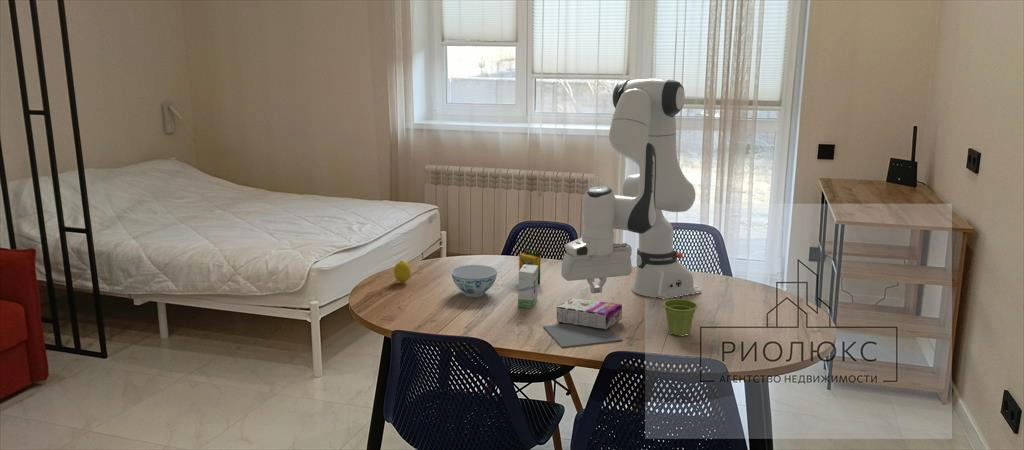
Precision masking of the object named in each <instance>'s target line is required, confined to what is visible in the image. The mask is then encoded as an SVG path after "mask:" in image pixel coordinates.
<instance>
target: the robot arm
mask: <svg viewBox="0 0 1024 450" xmlns="http://www.w3.org/2000/svg"><path fill="white" fill-rule="evenodd" d="M685 95H686V94H685V89H684V86H683V85H682V84H681V82H679V81H677V80H674V79H667V80H665V79H661V78H660V79H659V78H647V79H646V78H643V79H642V78H641V79H632V80H631V79H625V80H622V81H621V80H620V81H619V82H618V83H617V84H616V85H615V87H614V89H613V91H612V104H613V107H614V108H615V109H614V112H613V114H612V119H611V123H610V128H609V133H608V140H609V143H610V145H611V147H612V148H613V149H614V150H615V151H616V153H618V154H619V155H621V156H623V157H624V158H627V159H628V160H630V161H632V162H634V163H636V165H638V167H639V168H638V169H639V171H638V173H631V174H629V175H628V176H627V177H626V178H625V179H624V182H623V184H622V194H623V195H619V194H614V191H613V189H612V188H610V187H607V186H604V185H598V186H593V187H590V188H588V189H587V190H586V191H585V193H584V199H583V203H582V206H583V207H582V217H581V218H582V219H581V220H582V224H583V229H582V233H581V236H580V237H579V238H576V239H574V240H572V241H570V242H567V243H566V244H565V246H564V249H565V251H566V252H565V254H564V255H563V257H562V260H561V261H562V262H561V269H560V270H561V277H562V278H563V279H564V280H565V281H567V282H571V281H582V280H586V281H587V283H588V285H589V286H590V289H589V290H590V293H591V294H600V293H603V287H604V286H605V284H606V283H607V278H616V277H627V276H630V274H631V273H632V271H633V268H632V259H631V258H632V246H631V245H630V244H628V243H627V242H622V243H614V241H615V234H614V230H621V231H627V232H628V231H629V232H631V233H636V234H638V247H637V250H636V271H635V276H634V281H633V285H632V287H631V290H632V292H634V293H635V294H637V295H640V296H644V297H648V296H651V297H650V298H656V297H659V298H658V299H660V298H664V299H663V300H669V299H668V298H671V299H673V298H672V297H675V296H680V295H685V294H692V293H696V292H700V293H701V288H700V286H698V285H697V284H696V283H694V277H693V273H692V271H691V270H689V269H688V268H687V267H685V266H684V264H682V263H681V262H679V261H678V259H679V260H681V259H683V257H684V254H683V253H682V252H680V251H676V250H675V249H673V248H674V247H673V245H674V227H673V225H672V224H671V222H669V220H667V218H665V216H664V214H663V211H665V212H670V213H682V212H683V213H684V212H687V211H689V210H690V209H691V208H692V207H693V205H694V204H695V201H696V190H695V187H694V185H693V183H691V182H690V181H689V180H688V179H687V177H686V176H685V174H684V173H683V171H682V169H681V166H680V163H679V159H678V155H677V154H678V153H677V121H676V120H677V119H676V118H677V117H676V115H677V114H679V112H681V111H682V109H683V107H684V104H685ZM613 229H614V230H613ZM595 279H599V281H598V283H597V284H596V285H594V282H595ZM692 295H693V294H692Z"/></svg>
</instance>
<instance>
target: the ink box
mask: <svg viewBox="0 0 1024 450" xmlns="http://www.w3.org/2000/svg"><path fill="white" fill-rule="evenodd" d="M538 285H539V284H538V266H537V265H527V264H524V265H523V266H522V267H521V269H520V270H519V269H518V291H517V292H518V293H517V307H518V308H527V309H528V308H529V309H533V308H534V305H535V304H536V302H537V300H538V288H539V286H538Z"/></svg>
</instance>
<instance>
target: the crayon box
mask: <svg viewBox="0 0 1024 450" xmlns="http://www.w3.org/2000/svg"><path fill="white" fill-rule="evenodd" d="M523 249H524V253H523V252H522V253H520V254H519V255H518V258H519V259H518V261H519V263H518V271H519V270H520V269H521V267H522V266H523V265H524V264H527V265H537V266H538V285H541V257H542V256H541V255H542V254H541V251H538V250H534V249H530V248H526V247H524V248H523ZM532 252H533V253H532Z"/></svg>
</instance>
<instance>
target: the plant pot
mask: <svg viewBox="0 0 1024 450" xmlns="http://www.w3.org/2000/svg"><path fill="white" fill-rule="evenodd" d="M663 306H664V308H665V309H664V310H665V311H666V312H665V313H666V321H667V330H668V331H669V332H670V333H672V334H675V335H674V336H678V335H685V334H689V333H691V329H692V324H693V319H694V314H695V313H696V309H698V304H697V303H696V302H695V301H692V300H689V299H684V298H683V299H682V298H671V299H666V300H665V301H664V302H663ZM669 332H668V333H669ZM670 333H669V334H670ZM689 335H690V334H689Z"/></svg>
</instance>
